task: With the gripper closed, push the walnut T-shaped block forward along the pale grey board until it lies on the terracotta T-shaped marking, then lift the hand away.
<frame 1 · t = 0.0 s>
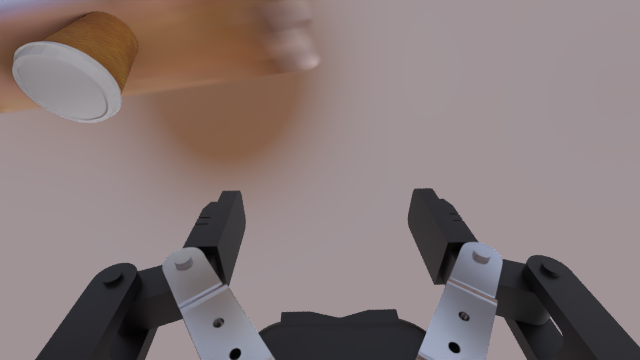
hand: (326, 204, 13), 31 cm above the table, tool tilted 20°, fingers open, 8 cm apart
disposable coffee cup: (112, 36, 38), on the table
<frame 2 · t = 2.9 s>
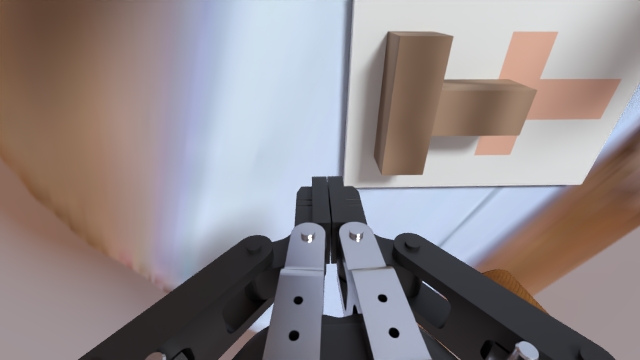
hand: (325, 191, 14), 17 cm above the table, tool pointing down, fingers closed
tee block: (400, 100, 28), point 1 cm above the table, touching board
disposable coffee cup: (490, 282, 45), on the table
board: (485, 96, 29), on the table
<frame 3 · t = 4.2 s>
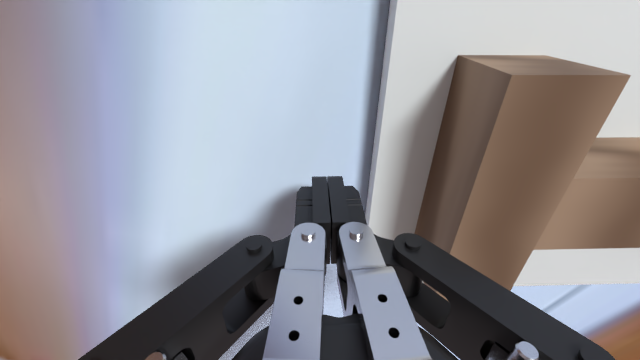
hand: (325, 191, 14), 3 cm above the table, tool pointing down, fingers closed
tee block: (464, 171, 16), point 1 cm above the table, touching board
board: (603, 160, 17), on the table
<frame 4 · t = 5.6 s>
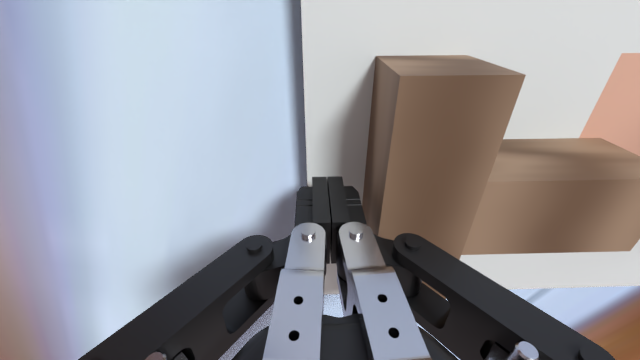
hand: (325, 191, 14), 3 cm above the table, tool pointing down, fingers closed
tee block: (401, 174, 16), point 1 cm above the table, touching board, gripper
board: (546, 161, 17), on the table
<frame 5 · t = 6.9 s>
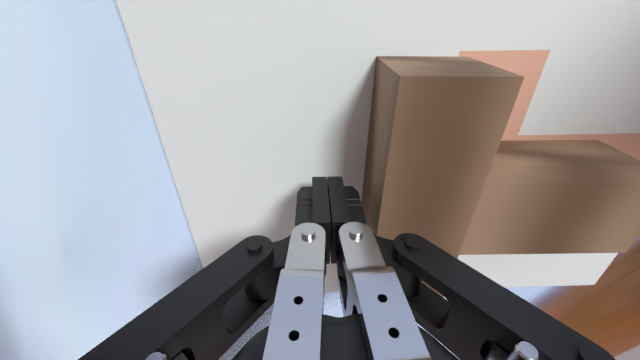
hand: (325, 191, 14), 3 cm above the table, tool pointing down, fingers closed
tee block: (400, 174, 16), point 1 cm above the table, touching board, gripper
board: (424, 160, 17), on the table
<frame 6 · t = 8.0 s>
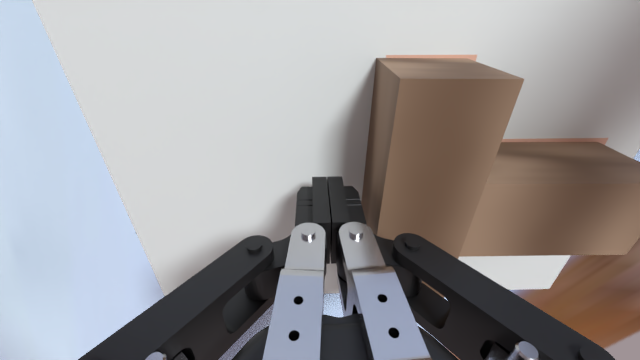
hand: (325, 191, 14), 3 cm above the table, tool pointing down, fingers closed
tee block: (400, 175, 16), point 1 cm above the table, touching board, gripper
board: (369, 163, 17), on the table
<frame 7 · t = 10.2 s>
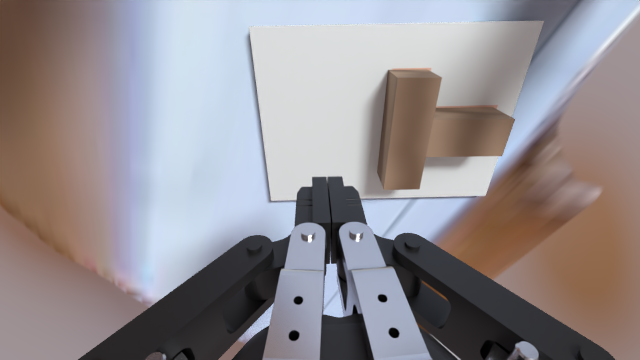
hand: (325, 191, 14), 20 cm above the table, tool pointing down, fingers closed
tee block: (399, 125, 32), point 1 cm above the table, touching board
board: (384, 121, 33), on the table
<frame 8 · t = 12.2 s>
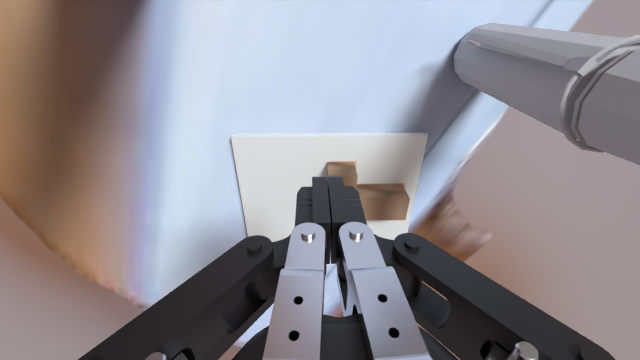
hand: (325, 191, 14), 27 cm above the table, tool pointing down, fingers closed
water bottle: (472, 50, 37), on the table
tee block: (338, 195, 46), point 1 cm above the table, touching board
board: (328, 190, 47), on the table
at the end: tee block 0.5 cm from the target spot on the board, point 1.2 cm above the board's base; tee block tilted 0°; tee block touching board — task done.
